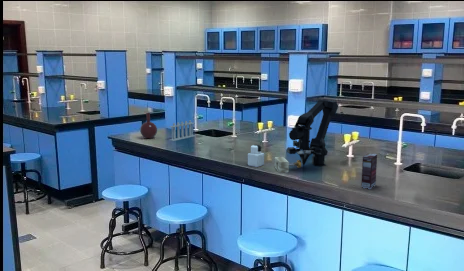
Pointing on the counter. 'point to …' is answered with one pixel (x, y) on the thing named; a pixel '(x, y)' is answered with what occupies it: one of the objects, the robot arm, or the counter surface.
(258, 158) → the medicine bottle
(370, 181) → the supplement box
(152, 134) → the round-bottom flask
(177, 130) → the test tube rack
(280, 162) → the block
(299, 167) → the pin
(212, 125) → the counter surface
